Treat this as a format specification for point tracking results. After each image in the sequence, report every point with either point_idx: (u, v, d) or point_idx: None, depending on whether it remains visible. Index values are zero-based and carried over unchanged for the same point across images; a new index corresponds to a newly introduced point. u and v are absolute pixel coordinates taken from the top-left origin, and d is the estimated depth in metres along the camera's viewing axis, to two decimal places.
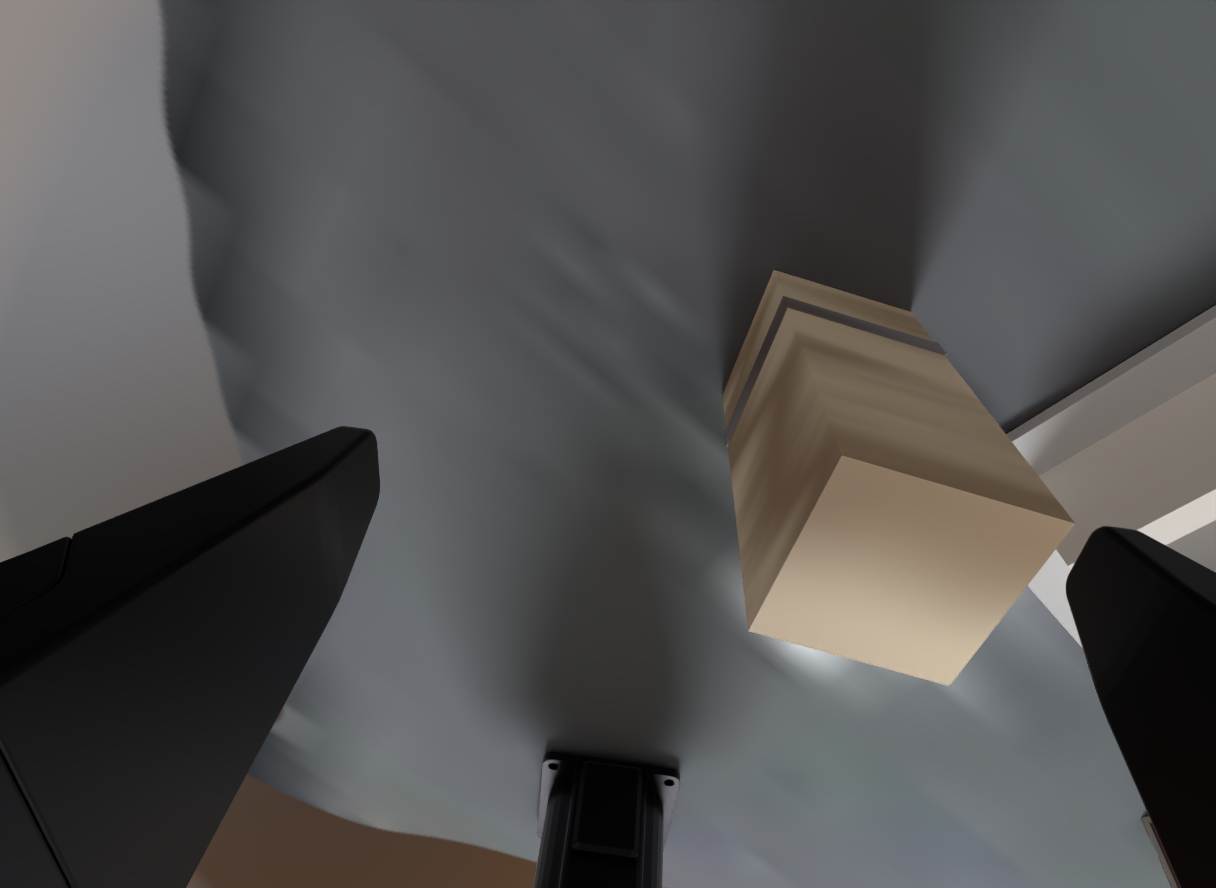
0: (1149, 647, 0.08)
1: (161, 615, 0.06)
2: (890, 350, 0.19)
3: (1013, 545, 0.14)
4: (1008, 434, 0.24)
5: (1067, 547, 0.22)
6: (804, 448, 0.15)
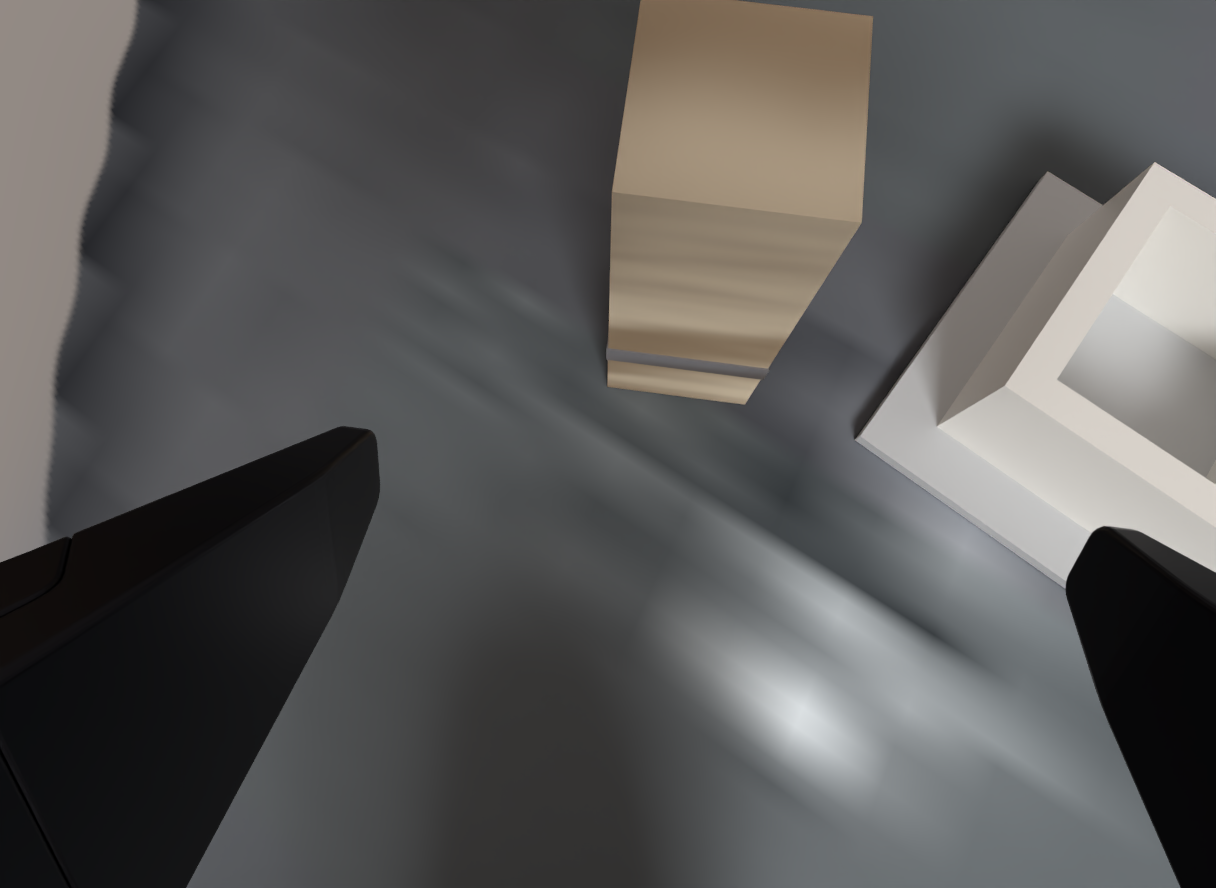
0: (1149, 647, 0.08)
1: (161, 615, 0.06)
2: None
3: (832, 45, 0.14)
4: (900, 376, 0.24)
5: (997, 385, 0.20)
6: None
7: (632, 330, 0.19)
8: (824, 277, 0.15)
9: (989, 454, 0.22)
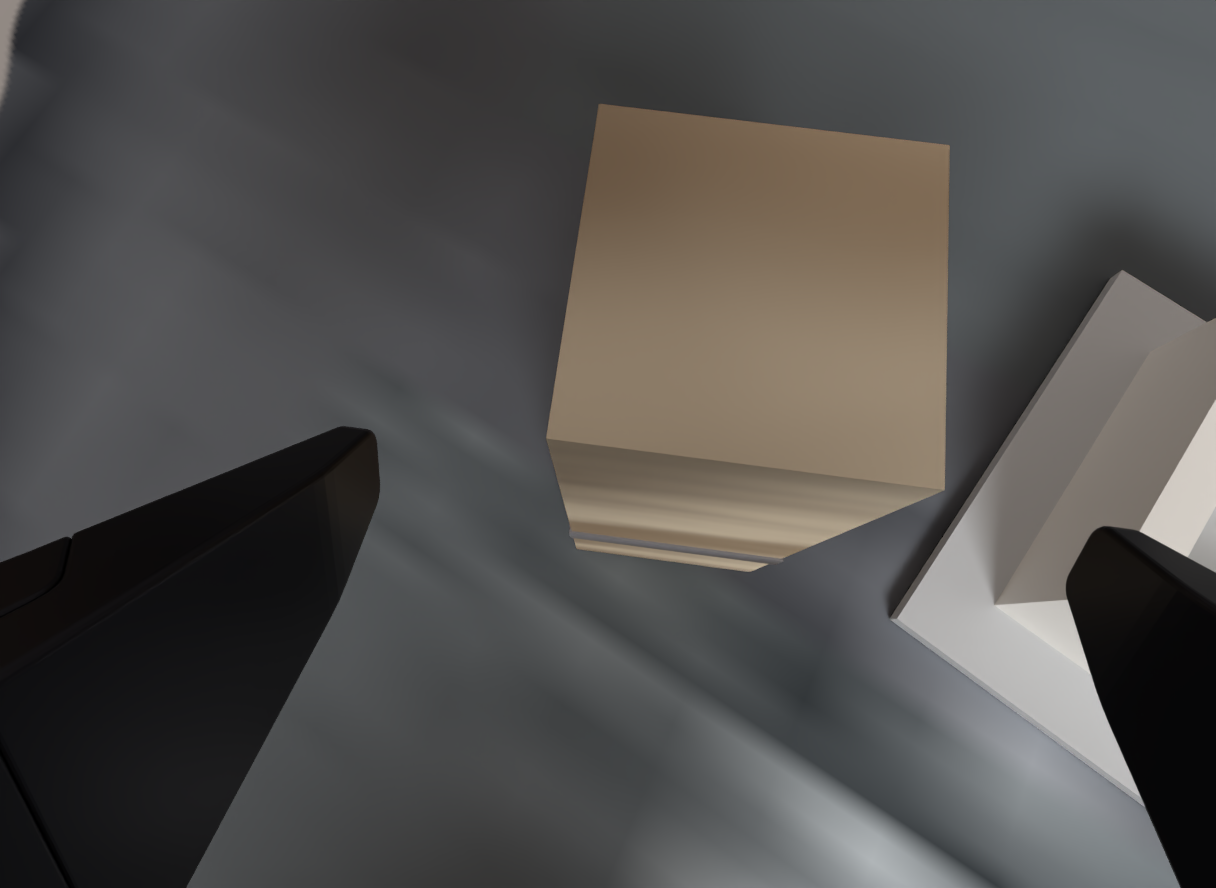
0: (1149, 647, 0.08)
1: (161, 615, 0.06)
2: None
3: (889, 192, 0.09)
4: (945, 534, 0.19)
5: None
6: None
7: (600, 524, 0.14)
8: (873, 515, 0.10)
9: (1064, 647, 0.17)
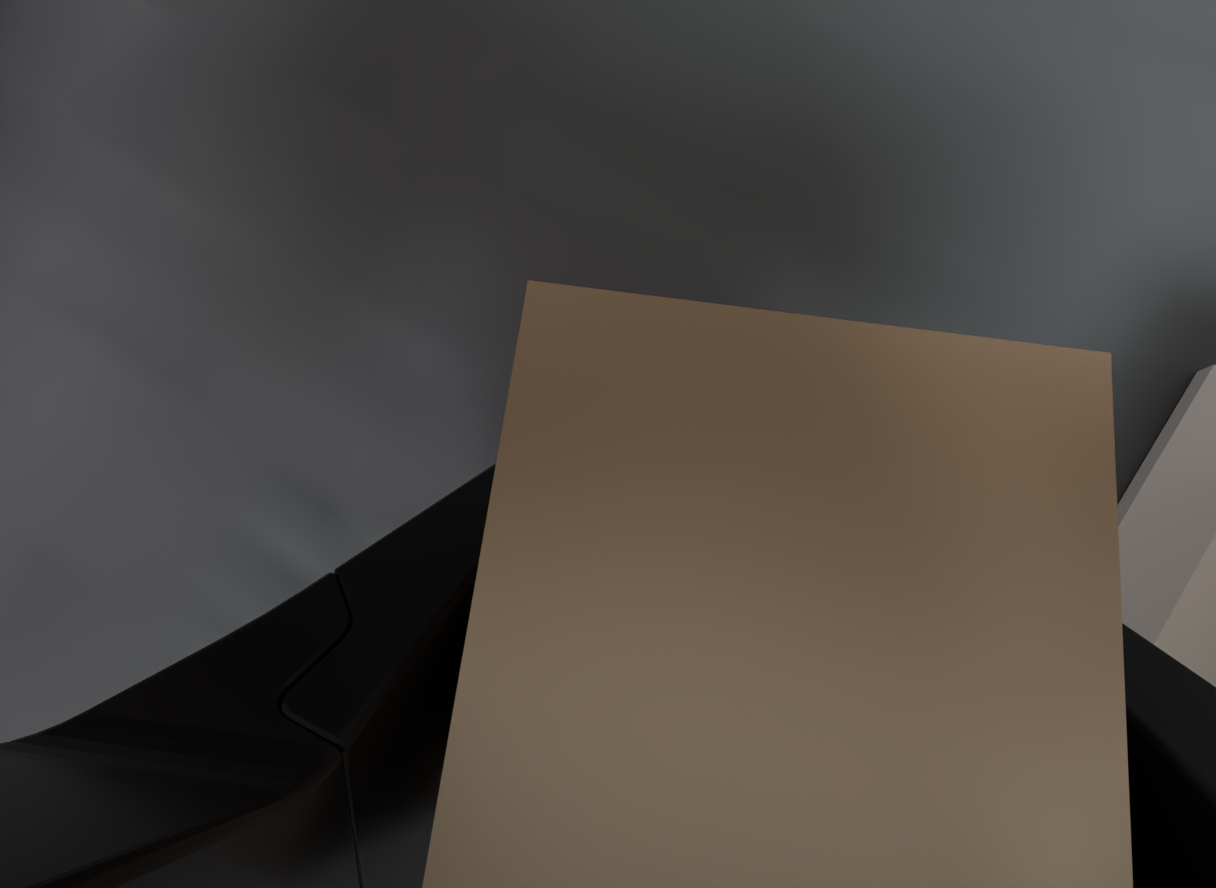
0: None
1: (440, 654, 0.06)
2: None
3: (1013, 439, 0.05)
4: None
5: None
6: None
7: None
8: None
9: None
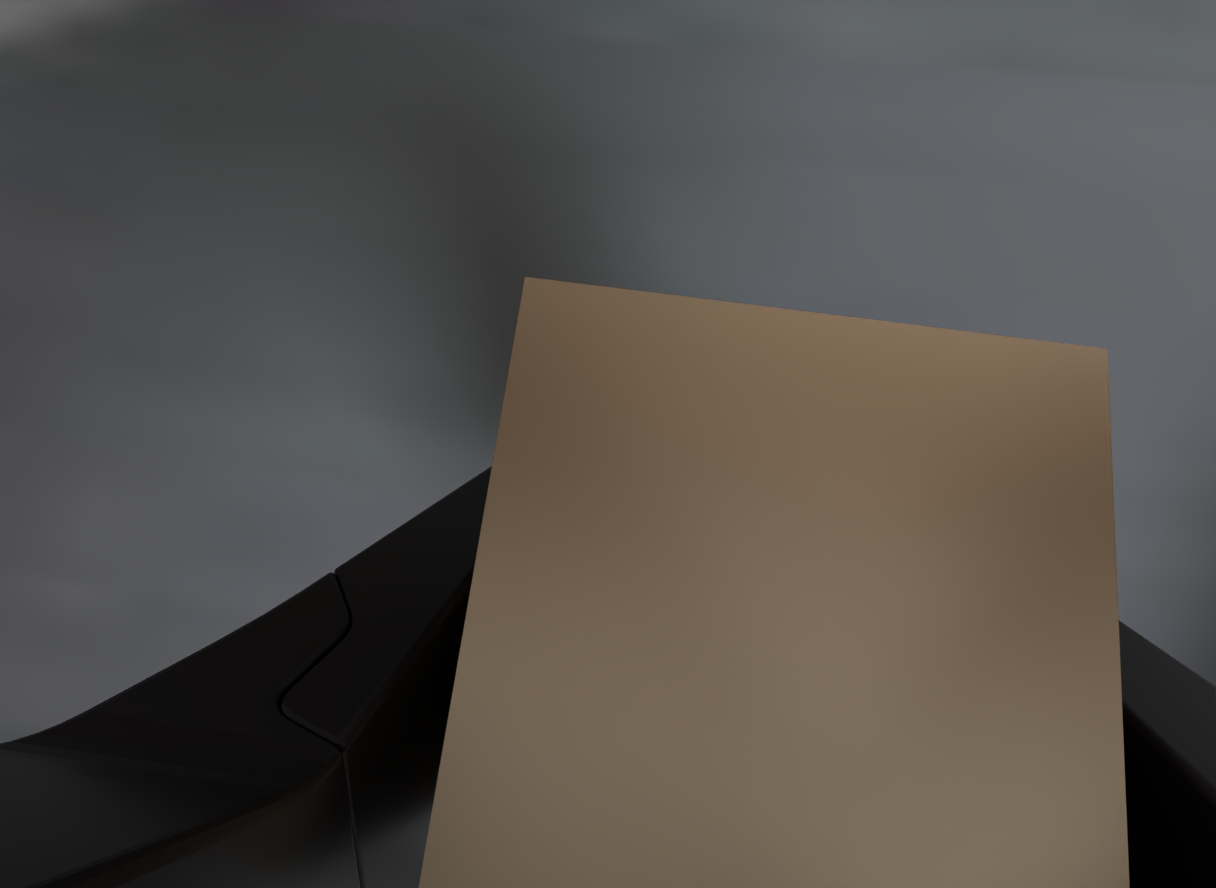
0: None
1: (440, 654, 0.06)
2: None
3: (1008, 435, 0.05)
4: None
5: None
6: None
7: None
8: None
9: None
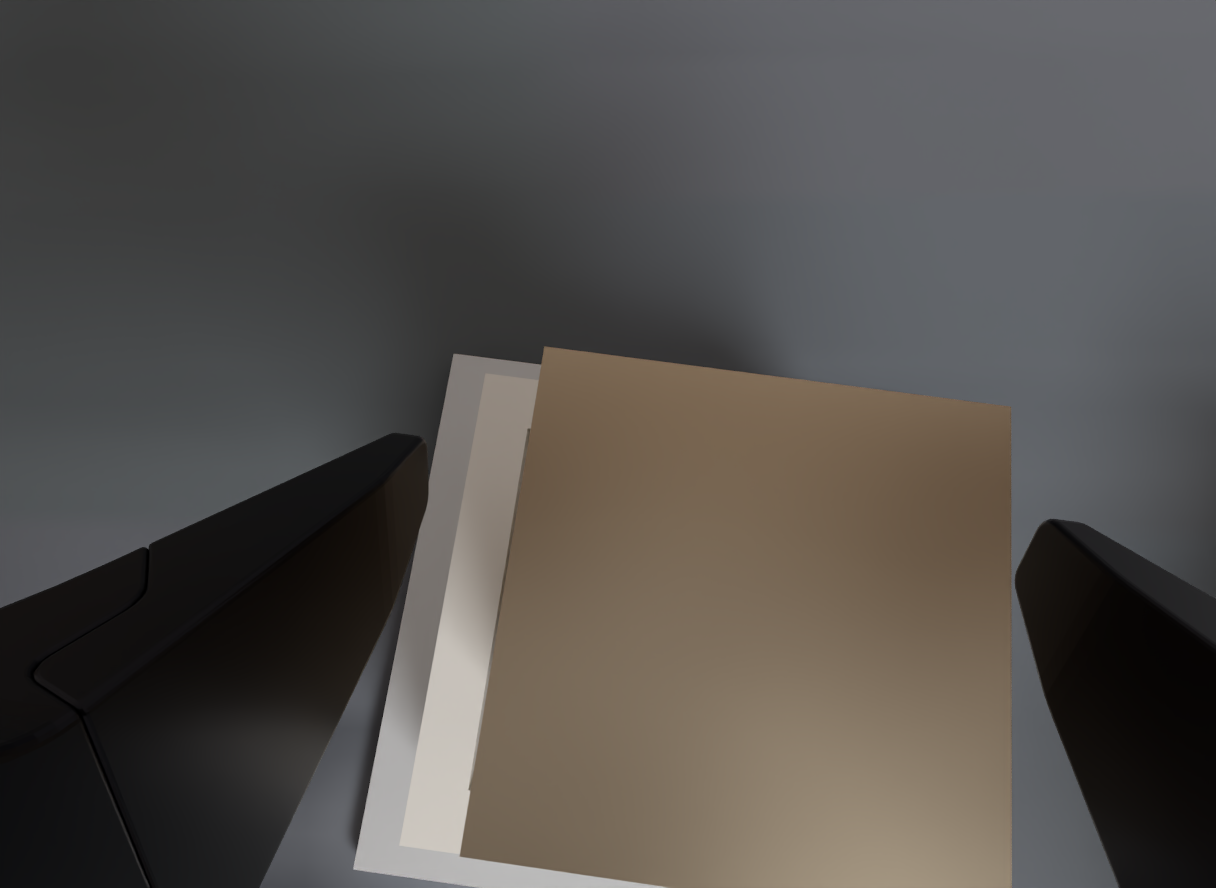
0: (1088, 639, 0.08)
1: (242, 626, 0.06)
2: None
3: (929, 477, 0.07)
4: None
5: None
6: None
7: None
8: None
9: None
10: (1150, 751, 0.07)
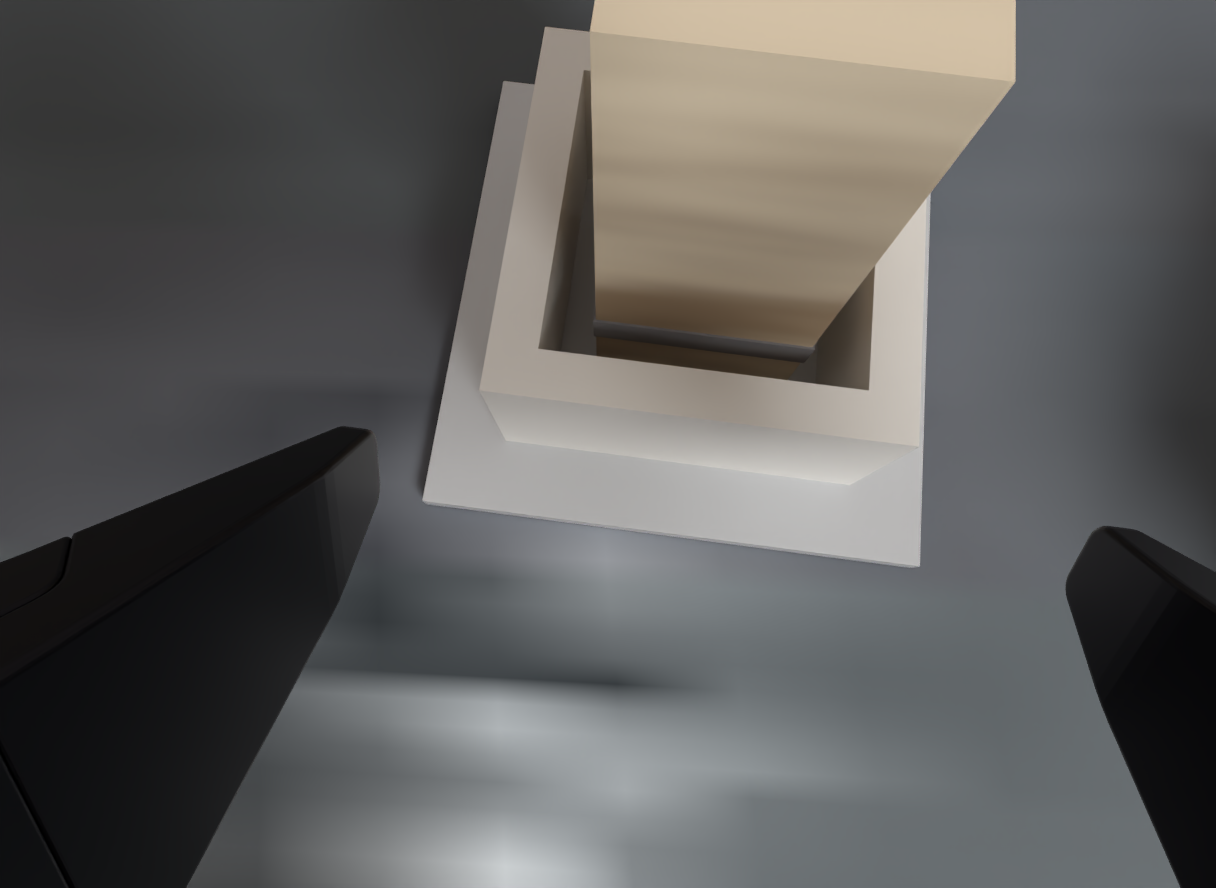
0: (1149, 647, 0.08)
1: (161, 615, 0.06)
2: None
3: None
4: None
5: None
6: None
7: (628, 292, 0.14)
8: (924, 197, 0.10)
9: (571, 444, 0.18)
10: None
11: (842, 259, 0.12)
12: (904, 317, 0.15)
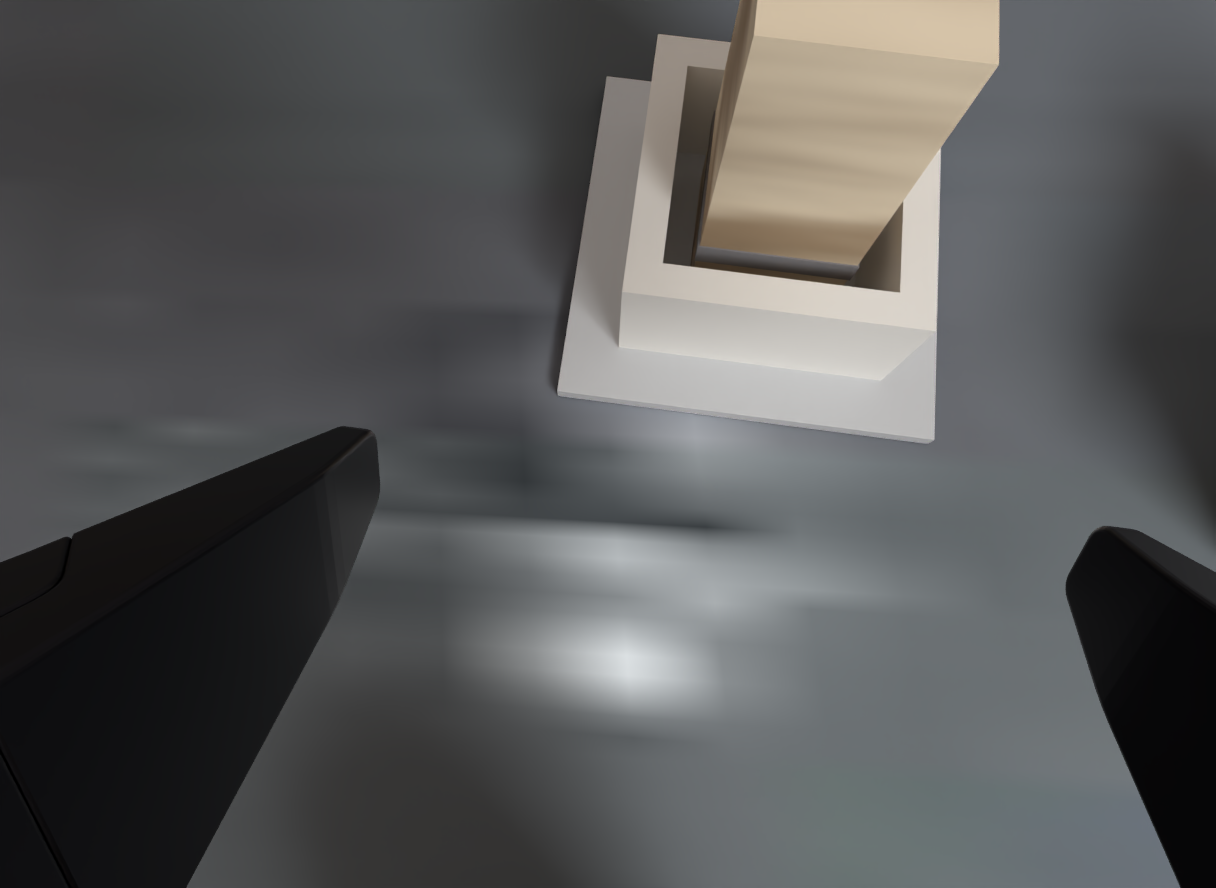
0: (1149, 647, 0.08)
1: (161, 615, 0.06)
2: None
3: None
4: None
5: None
6: None
7: (730, 220, 0.19)
8: (943, 141, 0.16)
9: (670, 348, 0.23)
10: None
11: (886, 188, 0.17)
12: (924, 242, 0.20)
